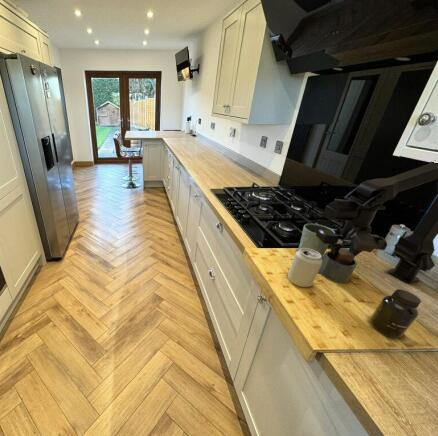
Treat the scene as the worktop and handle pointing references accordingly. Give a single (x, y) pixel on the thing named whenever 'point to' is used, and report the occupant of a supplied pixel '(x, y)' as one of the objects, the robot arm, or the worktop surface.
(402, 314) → the supplement bottle
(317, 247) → the green tapered tumbler
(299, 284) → the can
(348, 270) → the cup
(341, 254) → the brown cube
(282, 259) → the worktop surface
